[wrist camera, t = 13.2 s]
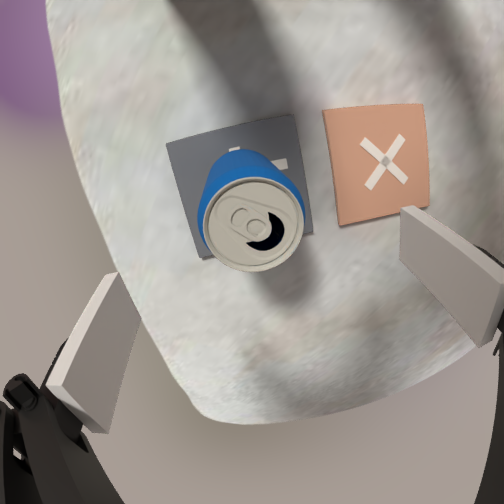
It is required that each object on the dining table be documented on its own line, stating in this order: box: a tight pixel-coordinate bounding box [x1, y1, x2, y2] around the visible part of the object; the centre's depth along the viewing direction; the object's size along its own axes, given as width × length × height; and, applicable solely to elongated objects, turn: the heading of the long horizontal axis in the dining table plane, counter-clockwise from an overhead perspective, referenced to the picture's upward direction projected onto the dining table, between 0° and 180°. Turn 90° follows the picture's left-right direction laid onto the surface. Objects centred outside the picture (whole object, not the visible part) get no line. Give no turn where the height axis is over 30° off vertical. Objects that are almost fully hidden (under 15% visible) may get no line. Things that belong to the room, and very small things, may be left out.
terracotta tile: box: [322, 104, 429, 226], centre depth 27 cm, size 12×12×1 cm
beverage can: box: [197, 149, 305, 272], centre depth 21 cm, size 6×6×12 cm
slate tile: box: [166, 114, 313, 258], centre depth 27 cm, size 12×12×1 cm
